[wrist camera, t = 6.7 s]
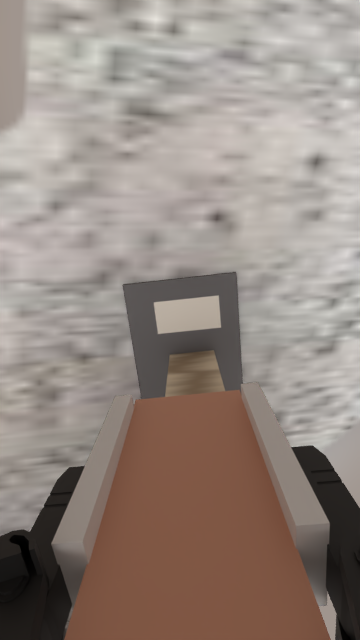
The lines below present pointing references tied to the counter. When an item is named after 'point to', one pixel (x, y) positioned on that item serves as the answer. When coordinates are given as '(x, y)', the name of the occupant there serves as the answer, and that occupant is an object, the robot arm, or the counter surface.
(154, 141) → the counter surface
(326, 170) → the counter surface
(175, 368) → the domino
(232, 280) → the mat
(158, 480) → the domino
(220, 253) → the counter surface
